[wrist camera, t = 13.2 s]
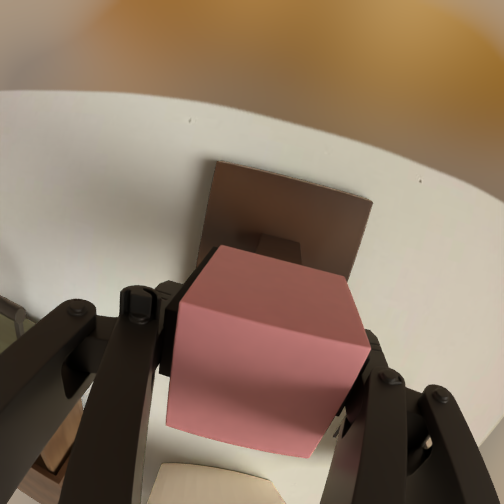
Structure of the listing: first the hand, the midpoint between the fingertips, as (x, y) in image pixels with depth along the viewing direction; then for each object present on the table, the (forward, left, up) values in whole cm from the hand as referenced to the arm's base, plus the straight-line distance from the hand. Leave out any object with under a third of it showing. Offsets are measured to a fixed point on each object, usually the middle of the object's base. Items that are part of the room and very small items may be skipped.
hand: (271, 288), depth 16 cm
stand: (0, 0, -6) cm, 6 cm away
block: (0, 0, +3) cm, 3 cm away
